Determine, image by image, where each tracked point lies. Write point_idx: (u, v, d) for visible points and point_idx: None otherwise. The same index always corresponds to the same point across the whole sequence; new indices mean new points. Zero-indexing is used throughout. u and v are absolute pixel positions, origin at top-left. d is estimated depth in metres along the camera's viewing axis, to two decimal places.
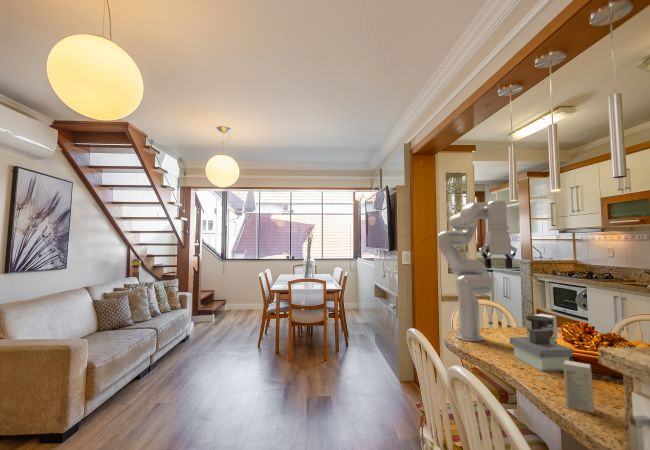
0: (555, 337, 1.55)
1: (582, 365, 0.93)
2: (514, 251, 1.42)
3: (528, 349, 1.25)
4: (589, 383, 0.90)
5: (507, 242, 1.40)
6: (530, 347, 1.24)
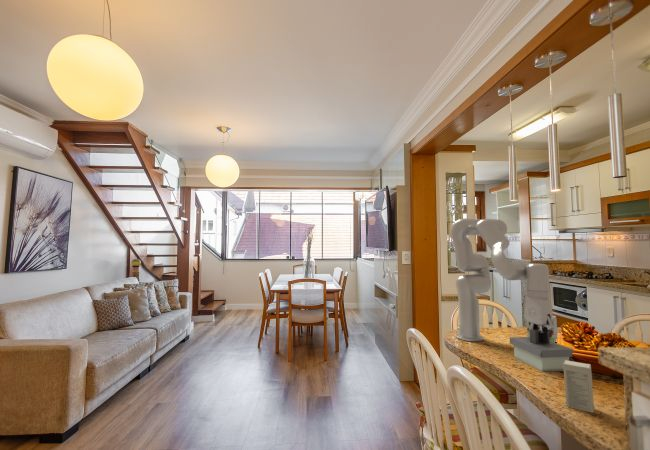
0: (555, 337, 1.55)
1: (582, 365, 0.93)
2: None
3: (528, 349, 1.25)
4: (589, 383, 0.90)
5: None
6: (530, 347, 1.24)
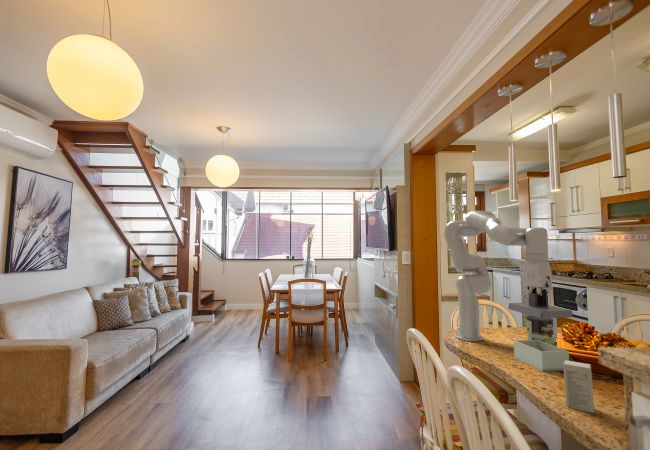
0: (555, 337, 1.55)
1: (582, 365, 0.93)
2: None
3: (527, 312, 1.26)
4: (589, 383, 0.90)
5: None
6: (530, 309, 1.25)
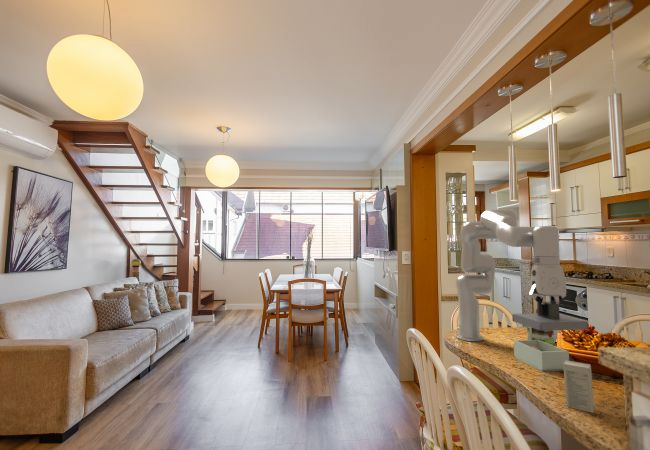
0: (555, 337, 1.55)
1: (582, 365, 0.93)
2: None
3: (570, 327, 1.05)
4: (589, 383, 0.90)
5: None
6: (573, 323, 1.05)
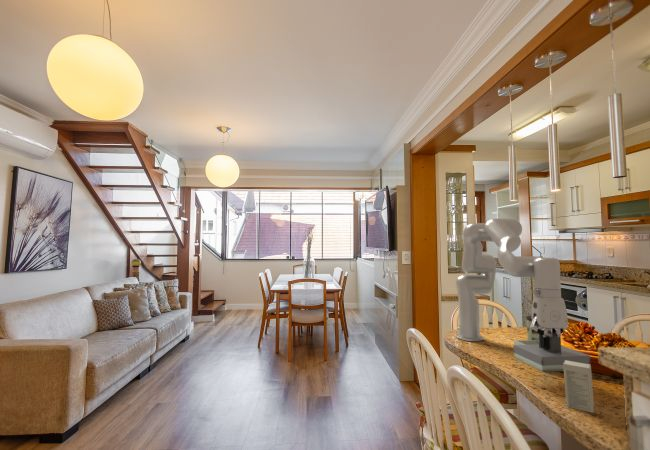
0: None
1: (582, 365, 0.93)
2: None
3: None
4: (589, 383, 0.90)
5: None
6: (574, 358, 1.04)
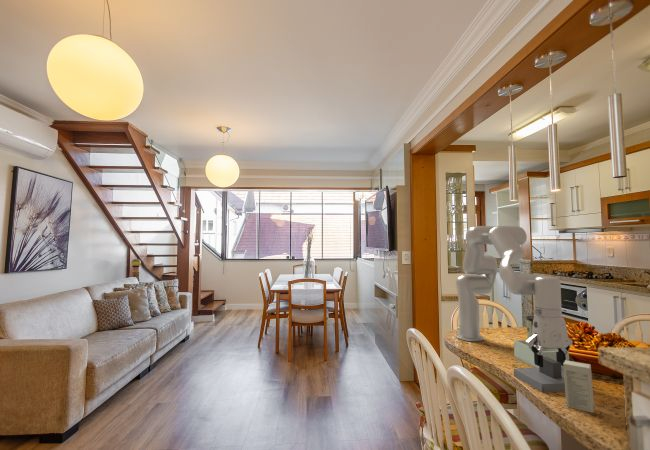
0: None
1: (582, 365, 0.93)
2: None
3: None
4: (589, 383, 0.90)
5: None
6: None
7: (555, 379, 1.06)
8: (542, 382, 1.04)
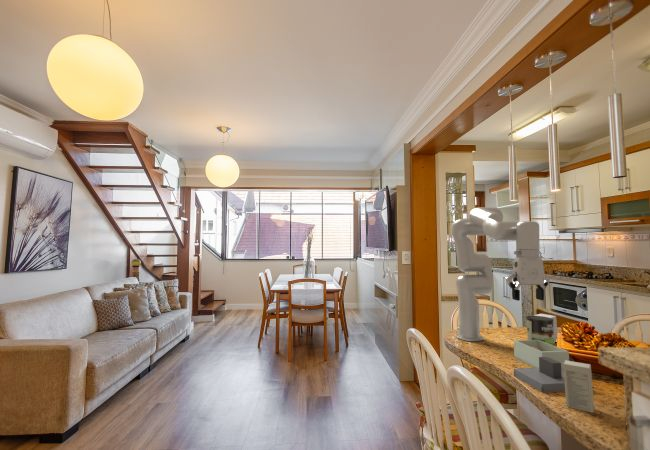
0: (555, 337, 1.55)
1: (582, 365, 0.93)
2: None
3: None
4: (589, 383, 0.90)
5: None
6: None
7: (555, 379, 1.06)
8: (542, 382, 1.04)
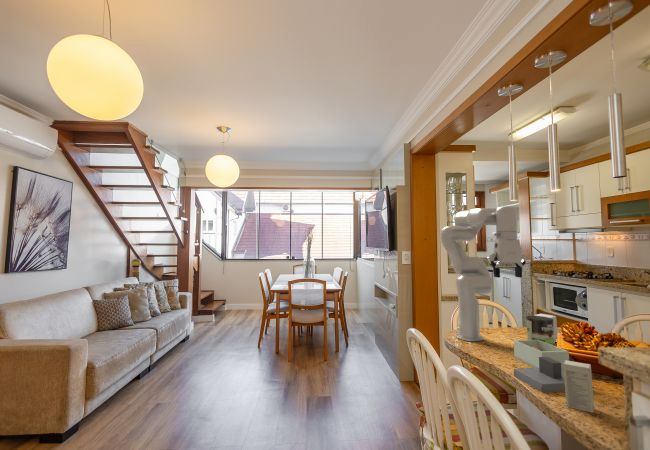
0: (555, 337, 1.55)
1: (582, 365, 0.93)
2: None
3: None
4: (589, 383, 0.90)
5: None
6: None
7: (555, 379, 1.06)
8: (542, 382, 1.04)
